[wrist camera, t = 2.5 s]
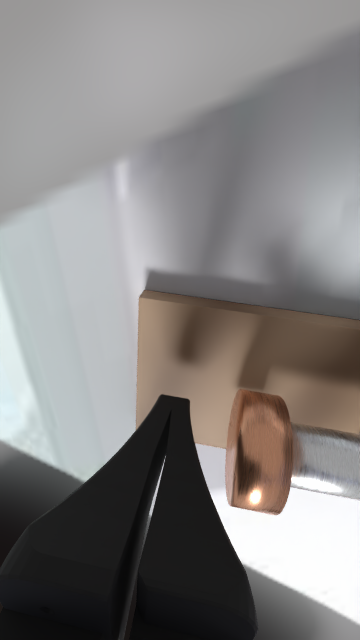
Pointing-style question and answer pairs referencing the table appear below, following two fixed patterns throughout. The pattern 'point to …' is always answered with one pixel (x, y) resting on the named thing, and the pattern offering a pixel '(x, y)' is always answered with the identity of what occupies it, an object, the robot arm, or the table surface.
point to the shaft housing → (246, 361)
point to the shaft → (284, 456)
